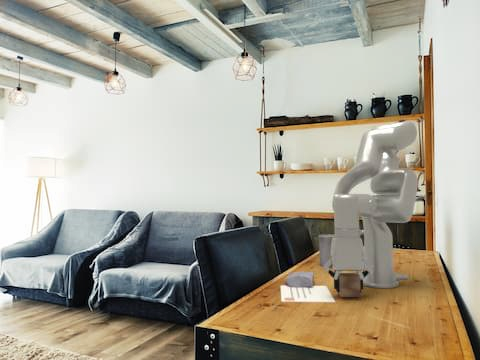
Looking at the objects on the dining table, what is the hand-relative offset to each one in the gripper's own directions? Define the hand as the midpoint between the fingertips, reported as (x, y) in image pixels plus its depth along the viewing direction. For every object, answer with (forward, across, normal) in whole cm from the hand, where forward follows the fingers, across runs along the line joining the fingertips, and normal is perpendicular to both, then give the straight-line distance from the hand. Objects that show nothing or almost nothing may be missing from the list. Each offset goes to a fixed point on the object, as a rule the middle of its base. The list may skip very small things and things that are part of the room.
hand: (348, 291), depth 117 cm
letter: (+2, +13, -4) cm, 14 cm away
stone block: (+2, +14, -17) cm, 22 cm away
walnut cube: (+1, 0, 0) cm, 1 cm away
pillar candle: (+2, -2, -53) cm, 53 cm away
